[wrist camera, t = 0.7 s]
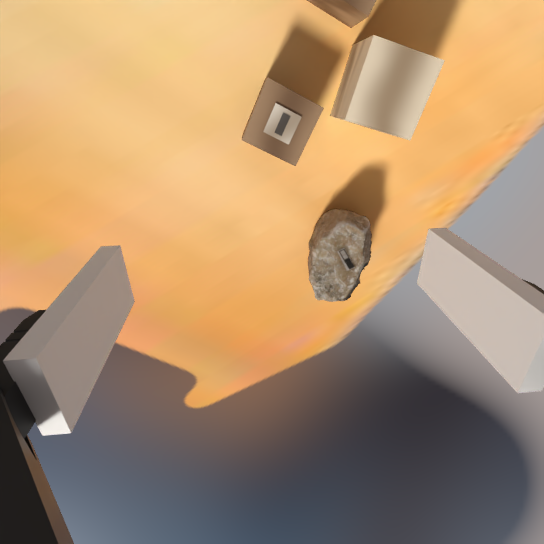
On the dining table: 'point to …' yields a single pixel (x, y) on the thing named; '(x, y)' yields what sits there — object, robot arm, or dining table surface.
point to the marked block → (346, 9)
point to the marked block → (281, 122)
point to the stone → (338, 254)
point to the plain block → (385, 86)
